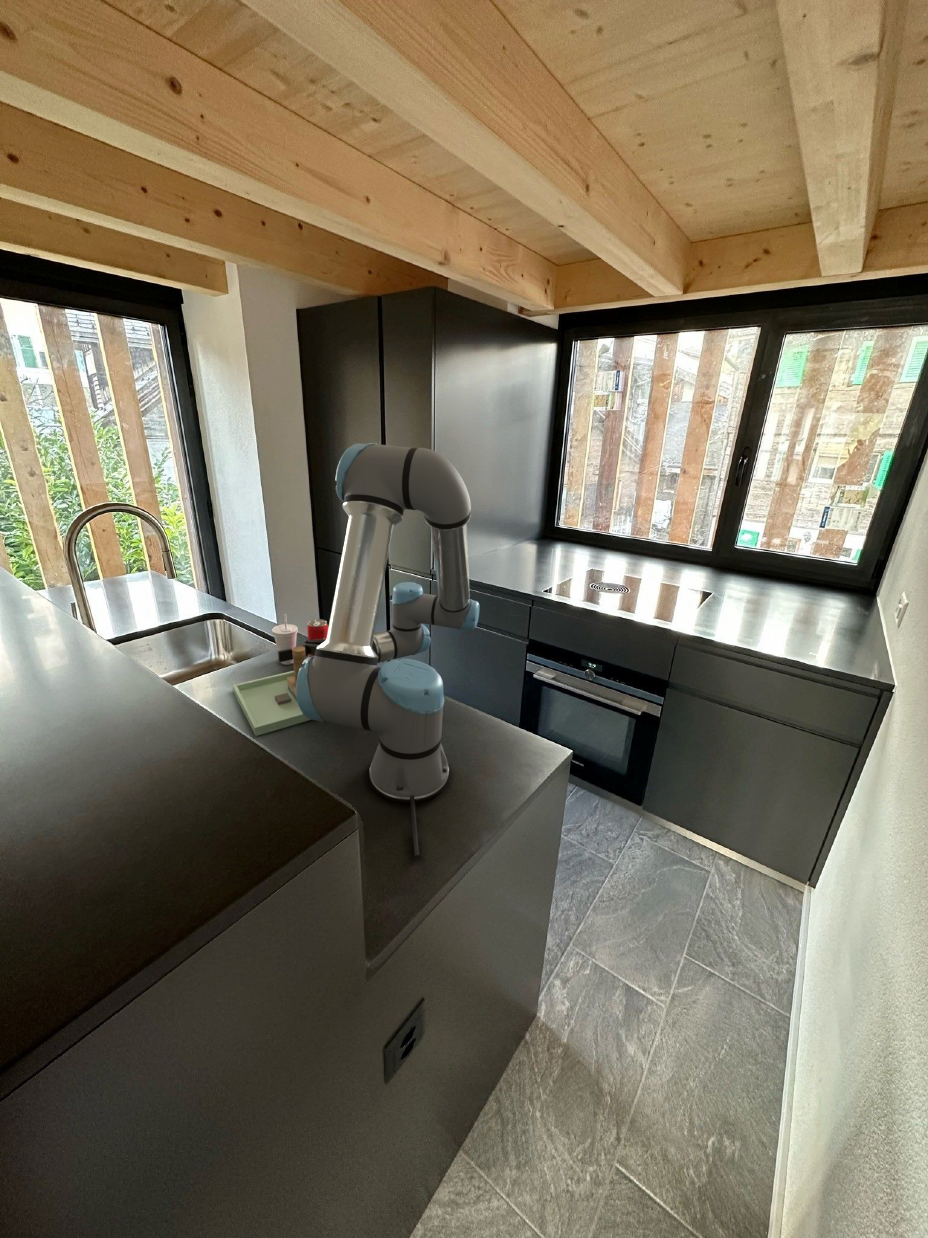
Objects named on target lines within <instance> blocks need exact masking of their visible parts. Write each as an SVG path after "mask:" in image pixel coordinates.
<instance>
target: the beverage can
mask: <svg viewBox="0 0 928 1238" xmlns="http://www.w3.org/2000/svg"><path fill="white" fill-rule="evenodd" d="M328 627H329V623H327V620H325V619H321V618H315V619H311V620H309V621H308V622H307V625H306V628H307V640H326V638H327V632H328ZM311 656H315V655H310V654H308V657H311Z"/></svg>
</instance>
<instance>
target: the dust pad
mask: <svg viewBox="0 0 928 1238" xmlns="http://www.w3.org/2000/svg"><path fill="white" fill-rule="evenodd" d="M275 700H276V702H277V703H278V705H281V704H284V703H288V702H291V698H290V696H289V695H288V693H285V694H281V695H277V696H275Z"/></svg>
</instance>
